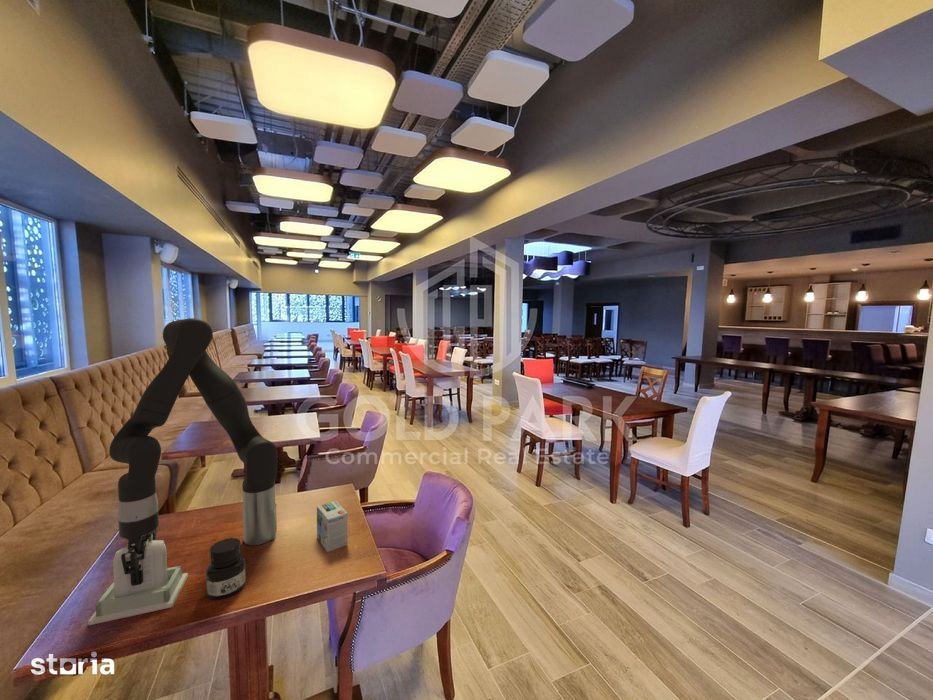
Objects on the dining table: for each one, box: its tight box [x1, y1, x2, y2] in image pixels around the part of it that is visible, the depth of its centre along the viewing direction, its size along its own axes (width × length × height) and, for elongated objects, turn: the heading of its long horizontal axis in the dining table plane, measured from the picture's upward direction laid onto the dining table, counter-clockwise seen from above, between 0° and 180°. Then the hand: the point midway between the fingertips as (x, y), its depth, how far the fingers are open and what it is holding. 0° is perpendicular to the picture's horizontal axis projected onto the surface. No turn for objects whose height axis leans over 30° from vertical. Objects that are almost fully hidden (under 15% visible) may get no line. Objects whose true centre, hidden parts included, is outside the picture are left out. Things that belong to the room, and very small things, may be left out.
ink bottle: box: [205, 537, 247, 600], centre depth 99 cm, size 10×9×12 cm
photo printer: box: [112, 539, 168, 598], centre depth 94 cm, size 10×4×12 cm, turn 123°
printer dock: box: [87, 565, 189, 626], centre depth 95 cm, size 16×12×4 cm
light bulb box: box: [316, 500, 348, 553], centre depth 121 cm, size 11×7×11 cm, turn 39°
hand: (142, 576), depth 95 cm, fingers closed on photo printer, 4 cm apart
